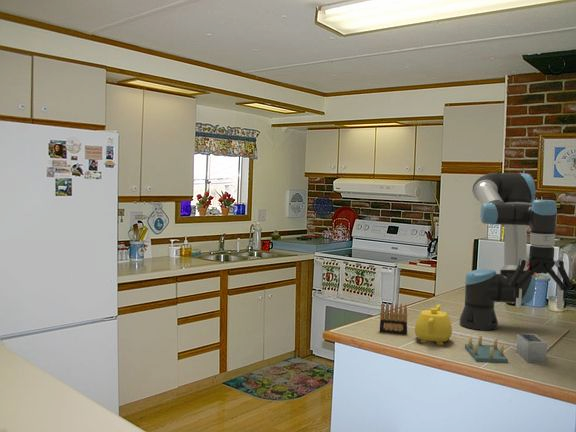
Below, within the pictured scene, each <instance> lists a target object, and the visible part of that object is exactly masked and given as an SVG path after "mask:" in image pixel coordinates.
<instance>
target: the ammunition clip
mask: <svg viewBox="0 0 576 432" xmlns="http://www.w3.org/2000/svg"><path fill="white" fill-rule="evenodd" d="M385 304H386V305H385ZM389 305H390V306H389ZM380 308H381V309H380V315H379V316H380V317H379V318H380V320H379V321H380V322H379V333H382V332H383V334H394V335H395V334H396V335H404V336H406V335H408V306H407V304H406V303H405V304H404V307H403V305H402V303H400V304H399V307H398V303H395V306H394V303H393V302H391V304H389V302H386V303H384V302H381V306H380ZM389 308H390V309H389Z"/></svg>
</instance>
